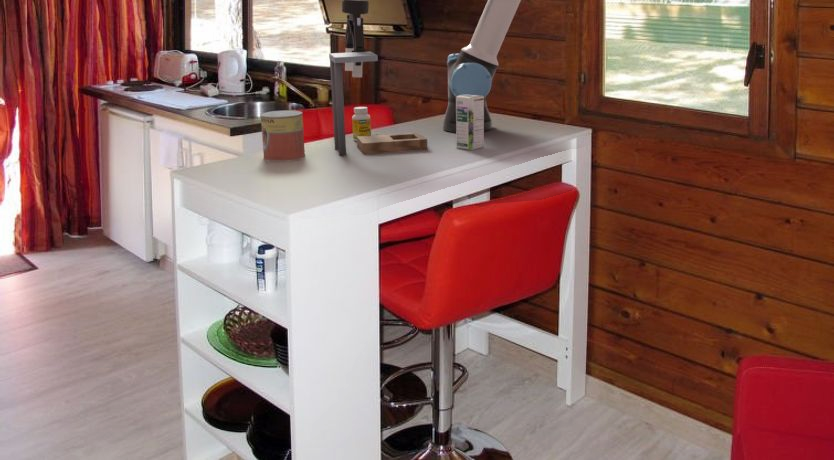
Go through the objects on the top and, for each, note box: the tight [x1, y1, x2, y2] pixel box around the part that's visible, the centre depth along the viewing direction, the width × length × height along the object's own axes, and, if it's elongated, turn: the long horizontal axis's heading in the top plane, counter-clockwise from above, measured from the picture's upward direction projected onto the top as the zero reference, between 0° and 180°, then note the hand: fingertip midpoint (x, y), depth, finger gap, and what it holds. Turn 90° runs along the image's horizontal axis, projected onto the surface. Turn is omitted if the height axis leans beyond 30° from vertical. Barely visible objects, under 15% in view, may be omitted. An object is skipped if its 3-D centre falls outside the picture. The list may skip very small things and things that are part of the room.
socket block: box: [356, 132, 428, 155], centre depth 260 cm, size 18×11×3 cm, turn 102°
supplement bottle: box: [351, 106, 372, 142], centre depth 272 cm, size 5×5×10 cm
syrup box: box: [455, 95, 485, 151], centre depth 256 cm, size 6×6×14 cm
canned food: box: [260, 109, 306, 163], centre depth 251 cm, size 11×11×12 cm
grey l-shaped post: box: [328, 51, 379, 157], centre depth 255 cm, size 12×12×26 cm
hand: (353, 74), depth 269 cm, fingers open, 13 cm apart
